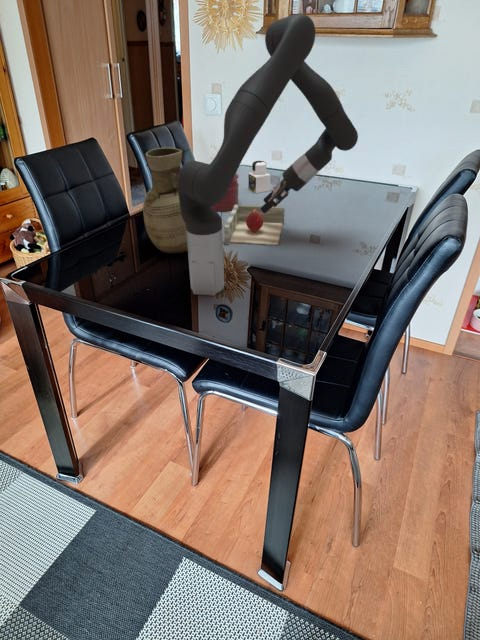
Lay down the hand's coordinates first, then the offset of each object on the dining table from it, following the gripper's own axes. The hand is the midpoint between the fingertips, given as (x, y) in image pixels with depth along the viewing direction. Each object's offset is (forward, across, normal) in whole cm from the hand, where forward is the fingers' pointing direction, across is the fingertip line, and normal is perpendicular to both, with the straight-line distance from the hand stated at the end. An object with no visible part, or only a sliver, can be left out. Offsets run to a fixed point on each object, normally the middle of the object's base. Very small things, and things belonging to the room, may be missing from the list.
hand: (263, 206), depth 143 cm
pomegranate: (+9, 0, +5) cm, 10 cm away
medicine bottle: (+12, -48, +2) cm, 49 cm away
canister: (+21, -26, -6) cm, 34 cm away
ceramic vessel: (+26, +13, -12) cm, 32 cm away
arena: (+9, -1, +5) cm, 10 cm away
